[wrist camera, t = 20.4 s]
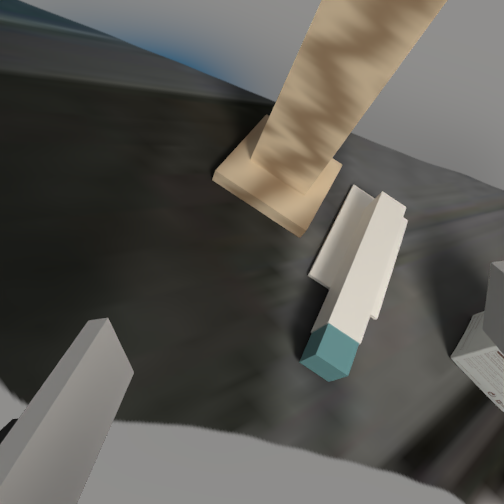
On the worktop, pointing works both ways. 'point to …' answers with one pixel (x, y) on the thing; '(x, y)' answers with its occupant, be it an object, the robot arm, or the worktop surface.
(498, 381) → the supplement box
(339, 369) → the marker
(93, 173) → the worktop surface
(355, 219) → the notepad
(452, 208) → the worktop surface
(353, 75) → the stand
